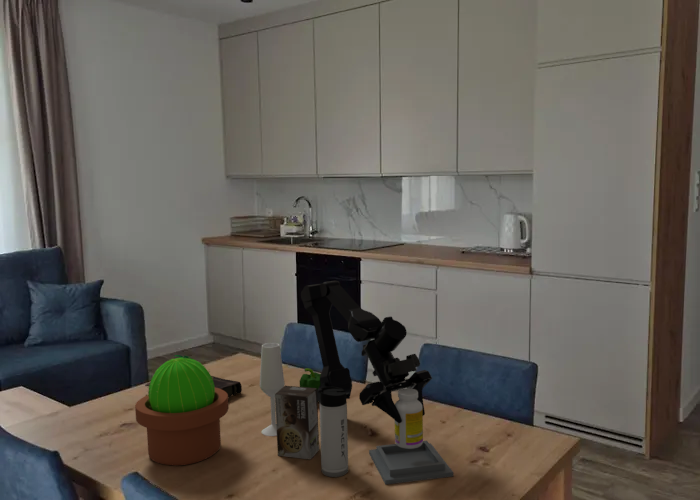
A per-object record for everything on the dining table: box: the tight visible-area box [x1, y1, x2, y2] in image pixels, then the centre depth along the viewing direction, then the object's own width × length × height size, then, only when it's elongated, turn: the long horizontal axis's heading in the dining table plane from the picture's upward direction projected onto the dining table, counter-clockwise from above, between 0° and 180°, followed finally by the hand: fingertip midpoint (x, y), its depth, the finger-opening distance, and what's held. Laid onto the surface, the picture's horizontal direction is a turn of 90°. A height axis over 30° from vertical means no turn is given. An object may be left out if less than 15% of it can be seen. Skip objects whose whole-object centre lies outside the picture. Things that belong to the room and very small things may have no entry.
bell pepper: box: [299, 367, 321, 403], centre depth 192 cm, size 8×8×10 cm
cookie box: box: [275, 385, 320, 460], centre depth 155 cm, size 9×6×16 cm
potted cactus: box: [134, 354, 229, 466], centre depth 157 cm, size 22×22×25 cm
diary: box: [144, 375, 243, 399], centre depth 199 cm, size 19×25×5 cm
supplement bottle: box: [394, 388, 424, 449], centre depth 147 cm, size 7×7×13 cm
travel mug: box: [318, 387, 349, 478], centre depth 144 cm, size 6×7×20 cm
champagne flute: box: [259, 342, 286, 437], centre depth 168 cm, size 7×7×24 cm
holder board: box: [368, 440, 454, 485], centre depth 148 cm, size 16×16×2 cm
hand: (412, 418), depth 145 cm, fingers closed on supplement bottle, 7 cm apart
